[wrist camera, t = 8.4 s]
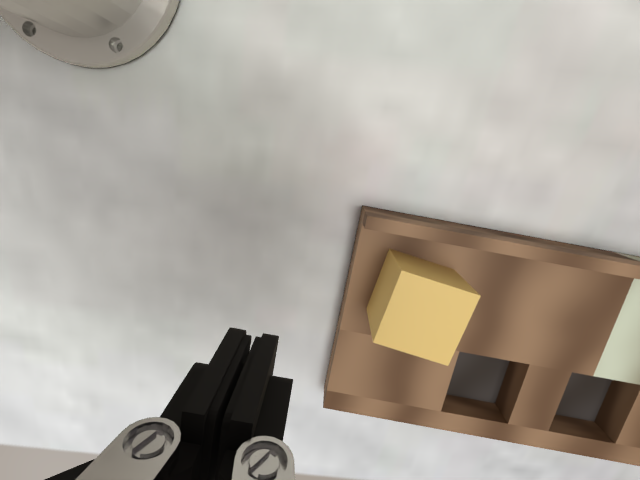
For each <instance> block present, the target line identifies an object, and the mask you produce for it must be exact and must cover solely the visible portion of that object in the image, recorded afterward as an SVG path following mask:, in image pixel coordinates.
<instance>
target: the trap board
mask: <svg viewBox="0 0 640 480" xmlns="http://www.w3.org/2000/svg"><path fill="white" fill-rule="evenodd" d="M389 248H390V249H393V250H396V251H399V252H402V253H405V254H408V255H411V256H414V257H417V258H420V259H424V260H427V261H430V262H433V263H436V264H439V265H442V266H445V267H448V268H451V269H454V270H455V271H456V272H457V273H458V274H459V275H460V276H461V277H462V278H463V279H464V280H465V281H466V282H467V283H468V284H469V285H470V286H471V287H472V288H473V289H474V290H475V291H476V292H477V293H478V294H480V295H481V297H480V299H479V301H478V303H477V305H476V307H475V310H474V312H473V314H472V316H471V318H470V320H469V322H468V325H467V327H466V329H465V331H464V333H463V335H462V337H461V340H460V342H459V344H458V346H457V348H456V350H455V352H454V355H453V357H452V359H451V361H450V363H449V365H448V366H446V365H443V364H440V363H437V362H434V361H430V360H427V359H424V358H421V357H418V356H414V355H411V354H408V353H405V352H402V351H398V350H395V349H392V348H389V347H386V346H383V345H379V344H376V343H373V340H372V335H371V330H370V325H369V320H368V315H367V309H366V308H367V306H368V303H369V300H370V298H371V295H372V292H373V290H374V287H375V285H376V282H377V279H378V277H379V274H380V272H381V269H382V266H383V264H384V261H385V259H386V256H387V253H388V251H389ZM323 408H328V409H333V410H339V411H344V412H350V413H355V414H360V415H366V416H371V417H377V418H382V419H388V420H393V421H398V422H404V423H409V424H415V425H420V426H426V427H431V428H436V429H442V430H447V431H453V432H458V433H464V434H469V435H474V436H480V437H485V438H491V439H496V440H502V441H507V442H512V443H518V444H523V445H529V446H534V447H540V448H545V449H550V450H556V451H561V452H567V453H572V454H578V455H583V456H588V457H594V458H599V459H605V460H610V461H615V462H621V463H626V464H632V465H637V466H640V257H638V256H633V255H628V254H622V253H617V252H611V251H606V250H600V249H595V248H590V247H584V246H579V245H573V244H568V243H562V242H557V241H552V240H546V239H541V238H535V237H530V236H525V235H519V234H514V233H508V232H503V231H497V230H492V229H487V228H481V227H476V226H470V225H465V224H459V223H454V222H449V221H443V220H438V219H432V218H427V217H422V216H416V215H411V214H405V213H400V212H394V211H389V210H384V209H378V208H373V207H367V206H362V209H361V214H360V219H359V223H358V228H357V233H356V238H355V242H354V247H353V252H352V257H351V262H350V266H349V271H348V276H347V281H346V285H345V290H344V295H343V300H342V305H341V309H340V314H339V319H338V324H337V328H336V333H335V338H334V343H333V348H332V352H331V357H330V362H329V367H328V371H327V376H326V381H325V386H324V402H323Z"/></svg>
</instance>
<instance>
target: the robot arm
mask: <svg viewBox="0 0 640 480" xmlns="http://www.w3.org/2000/svg"><path fill="white" fill-rule="evenodd" d="M178 3H179V0H0V15H1V16H2V17H3V19H4V20H5V21H6V23H7V24H8V25H9V26H10V27H11V28H12V29H13V30H14V31H15V32H16V33H17V34H18V35H19V36H20V37H21V38H23V39H24V40H25V41H27V42H28V43H29V44H31V45H32V46H33V47H35V48H36V49H37V50H39V51H41V52H43V53H45V54H47V55H49V56H51V57H53V58H55V59H58V60H61V61H64V62H67V63H70V64H73V65H78V66H83V67H89V68H106V67H112V66H116V65H121V64H125V63H127V62H129V61H131V60H133V59H135V58H137V57H139V56H141V55H142V54H144V53H145V52H146V51H147V50H148V49H150V48H151V47H152V46H153V45H155V44H156V42H157V41H158V40H159V39H160V37H161V36H162V35H163V34H164V32H165V31H166V30H167V28H168V26H169V24H170V22H171V20H172V18H173V16H174V14H175V13H176V10H177V6H178ZM121 46H123V47H122V50H121ZM278 339H279V336H275V335H270V334H264V333H263V335H262V337H255V340H254V342H253V345H252V347H251V350H250V345H251V336H250V335H246V330H241V329H236V328H229V330H228V332H227V333H226V335H225V337H224V339H223V340H222V342H221V344H220V345H219V347H218V349H217V351H216V352H215V354H214V356H213V358H212V359H211V361H210V363H209V364H203V363H195V364H194V365H193V366H192V368H191V369H190V371H189V372H188V374H187V376H186V377H185V379H184V380H183V382H182V383H181V385H180V386H179V388H178V390H177V391H176V393H175V394H174V396H173V397H172V399H171V400H170V402H169V404H168V405H167V407H166V408H165V410H164V411H163V413H162V414H161V416H160V417H152V418H146V419H142V420H139V421H137V422H135V423H133V424H131V425H129V426H128V427H127V428H125V429H124V430H123V431H122V432H121V433H120V434H119V435H118V436H117V437H116V438H115V439H114V440H113V441H112V442H111V443H110V444H109V445H108V446H107V447H106V448H105V449H104V450H103V452H102V453H101V454H100V455H99V456H98V457H97V458H96V459H94V460H91V461H89V462H86V463H84V464H81V465H79V466H77V467H74V468H72V469H69V470H67V471H64V472H62V473H60V474H57V475H55V476H52V477H50V478H48V479H45V480H295V468H294V458H293V454H292V452H291V450H290V448H289V447H288V446H287V445H286V444H285V443H284V442H283V436H284V430H285V424H286V418H287V413H288V407H289V401H290V395H291V389H292V383H293V379H288V378H282V377H277V376H272V375H273V369H274V363H275V357H276V351H277V345H278ZM249 351H250V352H249Z"/></svg>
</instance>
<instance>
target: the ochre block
mask: <svg viewBox="0 0 640 480" xmlns="http://www.w3.org/2000/svg"><path fill="white" fill-rule="evenodd" d="M480 297H481V295H480V294H478V293H477V292H476V291H475V290H474V289H473V288H472V287H471V286H470V285H469V284H468V283H467V282H466V281H465V280H464V279H463V278H462V277H461V276H460V275H459V274H458V273H457V272H456V271H455V270H454V269H451V268H448V267H445V266H442V265H439V264H436V263H433V262H430V261H427V260H424V259H420V258H417V257H414V256H411V255H408V254H405V253H402V252H399V251H396V250H393V249H390V248H389V251H388V253H387V256H386V259H385V261H384V264H383V266H382V269H381V272H380V274H379V277H378V279H377V282H376V285H375V287H374V290H373V292H372V295H371V298H370V300H369V303H368V306H367V308H366V309H367V315H368V320H369V325H370V330H371V335H372V340H373V343H376V344H379V345H383V346H386V347H389V348H392V349H395V350H398V351H402V352H405V353H408V354H411V355H414V356H418V357H421V358H424V359H427V360H430V361H434V362H437V363H440V364H443V365H446V366H448V365H449V363H450V361H451V359H452V357H453V355H454V352H455V350H456V348H457V346H458V344H459V342H460V340H461V337H462V335H463V333H464V331H465V329H466V327H467V325H468V322H469V320H470V318H471V316H472V314H473V312H474V310H475V307H476V305H477V303H478V301H479V299H480Z"/></svg>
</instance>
